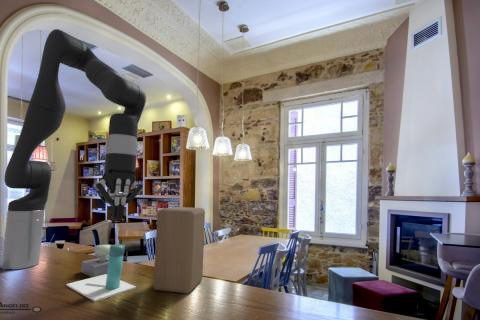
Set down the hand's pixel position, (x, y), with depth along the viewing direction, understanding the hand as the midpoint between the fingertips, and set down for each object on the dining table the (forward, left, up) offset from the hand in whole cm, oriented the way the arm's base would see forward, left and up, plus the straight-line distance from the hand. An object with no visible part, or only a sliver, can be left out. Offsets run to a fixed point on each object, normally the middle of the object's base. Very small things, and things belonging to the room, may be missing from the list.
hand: (116, 220), depth 66 cm
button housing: (-15, +5, -17) cm, 23 cm away
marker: (+1, 0, -16) cm, 16 cm away
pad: (-3, -1, -17) cm, 17 cm away
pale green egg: (-15, +5, -15) cm, 22 cm away
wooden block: (+12, +12, -17) cm, 24 cm away
